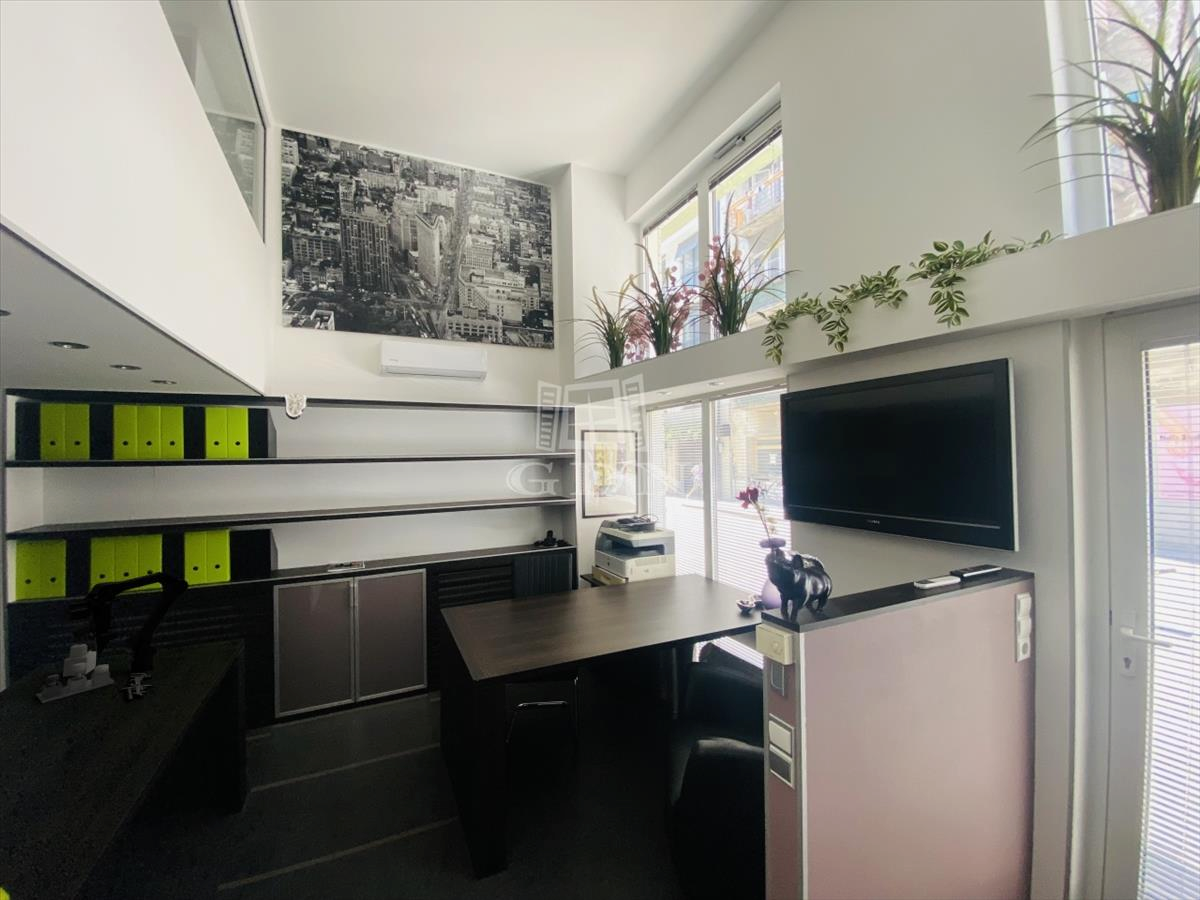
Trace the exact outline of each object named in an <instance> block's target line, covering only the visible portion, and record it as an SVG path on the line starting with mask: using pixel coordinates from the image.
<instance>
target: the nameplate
mask: <svg viewBox="0 0 1200 900" xmlns="http://www.w3.org/2000/svg"><path fill="white" fill-rule="evenodd" d="M152 679H153V675H151V674H148V673H145V672H144V673H143V672H139V673H130V674H129V676H128V685H129V687H124V688H123V687H122V688H119V689H118V690H117V691H118V694H120V693H126V696H127V697H126V698H127V702H128V703H132V702H133V701H134V698H136V699H137V698H139V699H144V698H145V696H146V695H147V694H148V689H150V690H151V689H153V688H154V684H143V683H144V682H145V681H148V680H149V681H150V680H152Z"/></svg>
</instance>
